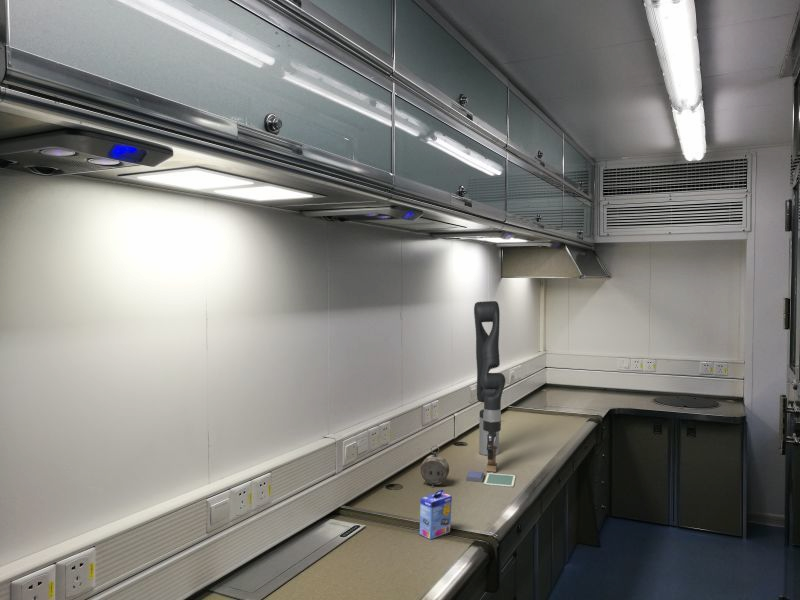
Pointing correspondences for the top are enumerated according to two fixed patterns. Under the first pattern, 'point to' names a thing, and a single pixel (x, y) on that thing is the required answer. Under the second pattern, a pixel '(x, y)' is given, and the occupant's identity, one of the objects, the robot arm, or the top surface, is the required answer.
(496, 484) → the green white framed board
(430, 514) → the ink cartridge box
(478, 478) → the ink pad
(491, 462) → the stamp
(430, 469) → the alarm clock
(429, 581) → the top surface
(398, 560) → the top surface
